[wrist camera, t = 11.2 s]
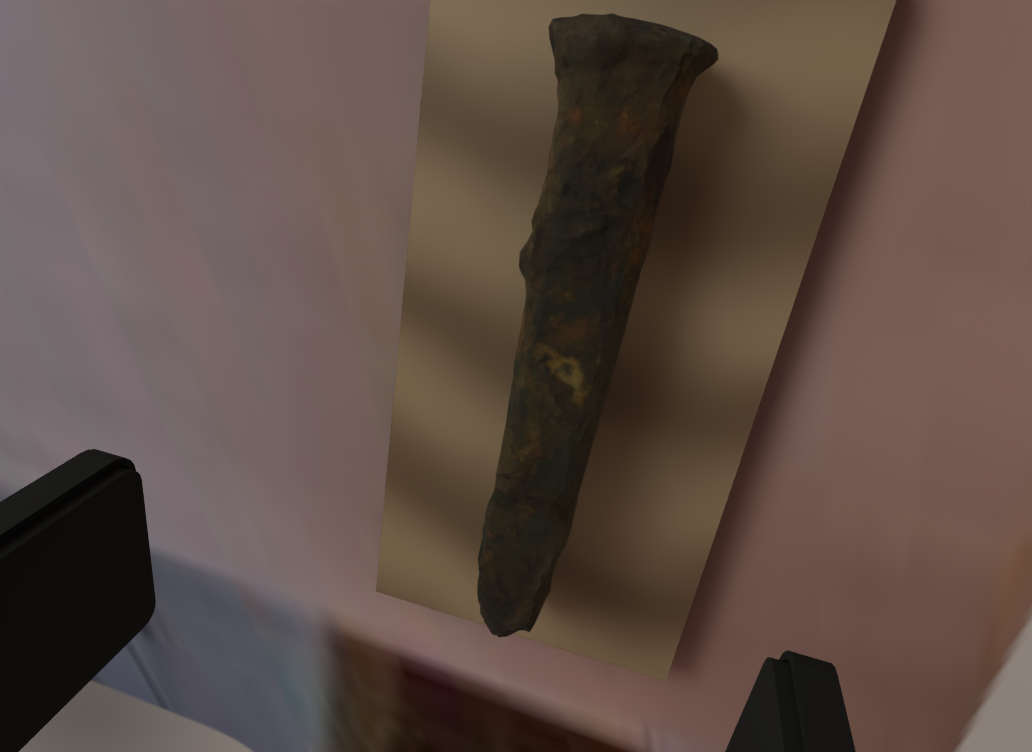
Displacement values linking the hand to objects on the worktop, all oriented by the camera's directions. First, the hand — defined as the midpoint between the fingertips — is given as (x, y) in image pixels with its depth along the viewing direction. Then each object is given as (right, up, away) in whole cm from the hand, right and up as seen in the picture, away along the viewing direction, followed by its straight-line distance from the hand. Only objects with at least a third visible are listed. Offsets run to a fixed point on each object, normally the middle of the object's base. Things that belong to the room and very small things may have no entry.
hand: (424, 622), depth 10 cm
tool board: (+3, +5, +14) cm, 15 cm away
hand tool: (+4, +4, +12) cm, 14 cm away
